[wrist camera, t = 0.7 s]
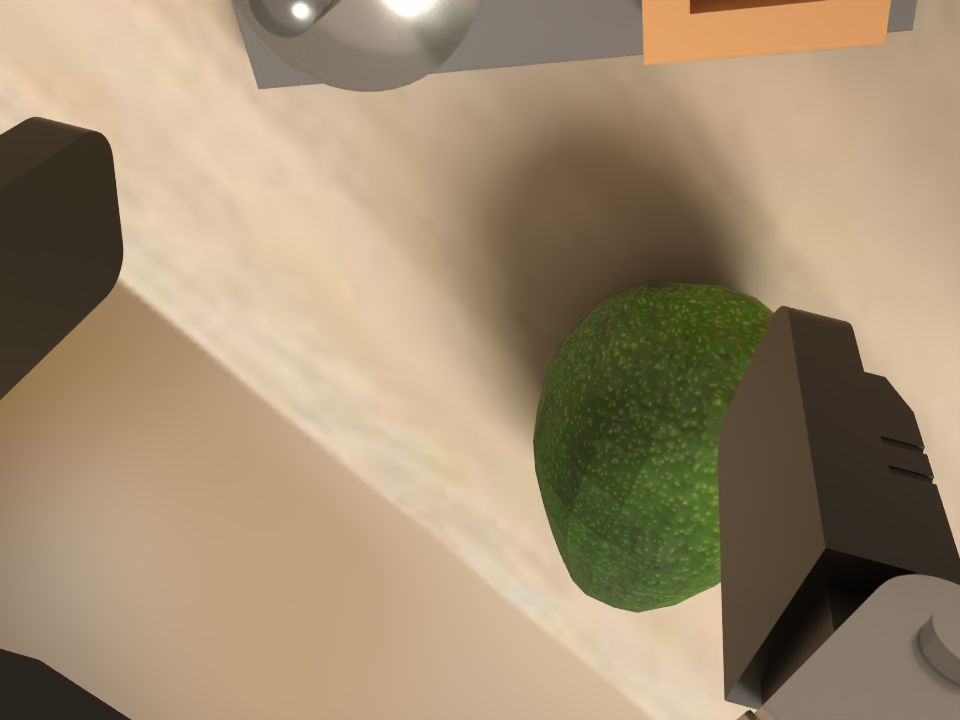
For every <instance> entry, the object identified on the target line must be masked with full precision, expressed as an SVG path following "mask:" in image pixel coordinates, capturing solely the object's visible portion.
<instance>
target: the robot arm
mask: <svg viewBox="0 0 960 720" xmlns="http://www.w3.org/2000/svg"><path fill="white" fill-rule="evenodd" d="M122 261H123V240H122V232H121V223H120V214H119V206H118V197H117V188H116V179H115V171H114V162H113V155H112V150H111V147H110V144H109V142H108V140H107V139H106V137H105V136H104V135H102V134H101V133H99V132H97V131H93V130H89V129H85V128H81V127H77V126H73V125H69V124H65V123H61V122H57V121H53V120H49V119H45V118H41V117H32V118H29V119H27V120H25V121H23V122H21V123H20V124H18V125H16V126H15V127H13V128H11V129H10V130H8V131H6V132H5V133H3V134H1V135H0V400H1V399H2V398H3V397H4V396H5V395H6V394H7V393H8V392H9V391H10V390H11V389H12V388H13V387H14V386H15V385H16V384H17V383H18V382H19V381H20V380H21V379H22V378H23V377H24V376H25V375H26V374H28V373H29V372H30V371H31V370H32V368H33V367H35V366H36V365H37V364H38V363H39V362H40V361H41V360H42V359H43V358H44V357H45V356H46V355H47V354H48V353H49V352H50V351H51V350H52V349H53V348H54V347H55V346H56V345H57V344H58V343H59V342H60V341H61V340H62V339H63V338H64V337H65V336H66V335H68V334H69V333H70V332H71V331H72V330H73V329H74V328H75V327H76V326H77V325H78V324H79V323H80V322H81V321H82V320H83V319H84V318H85V317H86V316H87V315H88V314H89V313H90V312H91V311H92V310H93V309H94V308H95V307H96V306H97V305H98V304H99V303H100V302H101V301H103V299H104V298H106V297H107V295H108V294H109V293H110V292H111V290H112V289H113V287H114V285H115V283H116V281H117V279H118V277H119V273H120V270H121V266H122ZM924 448H925V447H924V444H923V441H922V437H921V434H920V431H919V428H918V425H917V422H916V418H915V415H914V412H913V411H912V410H911V408H910V407H909V406H908V405H907V404H906V402H905V401H904V400H903V399H902V397H901V396H900V395H899V394H898V392H897V391H896V390H895V389H894V387H893V386H892V385H891V384H890V383H889V381H888V380H887V379H886V378H885V377H883V376H879V375H875V374H871V373H867V372H864V369H863V365H862V362H861V358H860V354H859V350H858V346H857V342H856V338H855V335H854V331H853V328H852V326H851V324H850V323H848V322H846V321H842V320H838V319H834V318H830V317H826V316H822V315H818V314H814V313H810V312H806V311H802V310H798V309H794V308H790V307H786V306H781V307H780V308H778V309H777V310H776V312H775V313H774V314H773V316H772V318H771V319H770V321H769V323H768V325H767V327H766V329H765V332H764V334H763V336H762V338H761V340H760V342H759V344H758V346H757V349H756V351H755V353H754V355H753V357H752V359H751V361H750V363H749V366H748V368H747V370H746V372H745V374H744V376H743V378H742V380H741V383H740V385H739V387H738V389H737V391H736V393H735V395H734V397H733V399H732V402H731V404H730V406H729V408H728V411H727V414H726V416H725V419H724V423H723V426H722V430H721V434H720V440H719V446H718V493H719V526H720V560H721V593H722V627H723V660H724V694H725V701H728V702H732V703H735V704H739V705H743V706H746V707H750V708H753V709H757V710H758V711H756V712H755V713H753V712H752V711H751V710H749V711H747V712H745V713H744V714H743V715H742V716H740V717H739V718H738V719H737V720H960V557H959V554H958V551H957V548H956V545H955V542H954V538H953V535H952V532H951V529H950V526H949V523H948V520H947V516H946V513H945V510H944V507H943V504H942V501H941V497H940V494H939V491H938V488H937V485H936V484H932V481H933V478H934V475H933V472H932V469H931V466H930V463H929V459H928V456H927V454H923V450H924ZM0 720H131V719H129V718H127V717H126V716H124V715H123V714H121V713H120V712H118V711H117V710H115V709H114V708H112V707H111V706H109V705H107V704H106V703H105V702H103V701H101V700H100V699H98V698H97V697H95V696H94V695H92V694H90V693H89V692H88V691H86V690H84V689H83V688H81V687H80V686H78V685H76V684H75V683H74V682H72V681H70V680H69V679H68V678H66V677H64V676H63V675H61V674H60V673H58V672H57V671H55V670H53V669H52V668H51V667H49V666H48V665H46V664H45V663H43V662H42V661H40V660H37V659H34V658H30V657H27V656H23V655H20V654H16V653H13V652H10V651H6V650H3V649H0Z"/></svg>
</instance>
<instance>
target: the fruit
mask: <svg viewBox="0 0 960 720" xmlns="http://www.w3.org/2000/svg"><path fill="white" fill-rule="evenodd" d="M773 314H774V312H772V311H771V310H770V309H769V308H767V307H766V306H765V305H764V304H762V303H761V302H760V301H759V300H757V299H756V298H754V297H752V296H749V295H746V294H743V293H740V292H738V291H735V290H732V289H729V288H727V287H724V286H721V285H718V284H701V283H680V282H659V281H647V282H644V283H642V284H639V285H637V286H634V287H632V288H629V289H626V290H624V291H621V292H619V293H616V294H613V295H611V296H608V297H607V298H606V299H605V300H604V301H603V302H601V303H600V304H599V305H598V306H597V307H596V308H595V309H594V310H593V311H592V312H590V313H589V314H588V315H587V316H586V317H585V318H584V319H583V320H582V321H581V322H580V323H579V324H578V325H577V326H576V327H575V328H574V329H573V331H572V332H571V333H570V334H569V335H568V336H567V337H566V338H565V339H564V341H563V343H562V345H561V347H560V349H559V350H558V352H557V354H556V356H555V358H554V360H553V361H552V363H551V365H550V367H549V369H548V372H547V375H546V379H545V383H544V387H543V391H542V394H541V398H540V402H539V406H538V410H537V417H536V424H535V431H534V438H533V445H534V458H535V471H536V475H537V480H538V484H539V488H540V492H541V496H542V500H543V504H544V507H545V511H546V514H547V517H548V521H549V524H550V527H551V531H552V533H553V536H554V539H555V541H556V544H557V547H558V549H559V552H560V555H561V557H562V559H563V561H564V563H565V565H566V567H567V570H568V572H569V574H570V576H571V578H572V580H573V581H574V582H575V584H576V585H577V586H578V587H579V588H580V589H581V590H582V591H583V592H584V593H585V594H586V595H588V596H590V597H592V598H594V599H597V600H599V601H601V602H603V603H605V604H607V605H610V606H612V607H614V608H619V609H623V610H628V611H633V612H637V613H638V612H643V611H648V610H653V609H658V608H662V607H667V606H672V605H676V604H678V603H680V602H682V601H684V600H686V599H688V598H690V597H692V596H694V595H696V594H698V593H701V592H703V591H705V590H707V589H709V588H711V587H714V586H715V585H717V584H718V583H720V582H721V560H720V526H719V493H718V446H719V440H720V434H721V430H722V426H723V423H724V419H725V416H726V414H727V411H728V408H729V406H730V404H731V402H732V399H733V397H734V395H735V393H736V391H737V389H738V387H739V385H740V383H741V380H742V378H743V376H744V374H745V372H746V370H747V368H748V366H749V363H750V361H751V359H752V357H753V355H754V353H755V351H756V349H757V346H758V344H759V342H760V340H761V338H762V336H763V334H764V332H765V329H766V327H767V325H768V323H769V321H770V319H771V318H772V316H773Z"/></svg>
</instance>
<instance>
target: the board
mask: <svg viewBox="0 0 960 720" xmlns="http://www.w3.org/2000/svg"><path fill="white" fill-rule="evenodd" d="M916 2H917V0H891V3H890V11H889V19H888V27H887V33H888V32H899V31H910V30H912V29H913V22H914V15H915V8H916ZM232 3H233V7H234V10H235V13H236V16H237V20H238V23H239V26H240V30H241V33H242V36H243V39H244V43H245V46H246V49H247V53H248V56H249V59H250V62H251V66H252V69H253V72H254V76H255V79H256V82H257V86H258V89H267V88H278V87H289V86H300V85H311V84H322V83H321V82H319V81H316V80H314V79H312V78H310V77H308V76H306V75H304V74H302V73H301V72H299V71H297V70H296V69H294V68H293V67H291V66H290V65H288V64H287V63H286V62H284V61H283V60H282V59H281V58H279V57H278V56H277V55H276V54H275V53H274V52H272V51H271V50H270V49H269V48H268V47H267V46H266V44H265V43H264V42H263V41H262V40H261V39H260V38H259V37H258V36H257V35H256V33H255V32H254V31H253V29H252V28H251V27H250V25H249V24H248V23H247V22H246V20H245V18H244V17H243V15H242V13H241V12H240V10H239V9H238V7H237V5H236V3H235V1H234V0H232ZM633 55H644V48H643V18H642V0H482V2H481V5H480V9H479V11H478V13H477V15H476V18H475V20H474V22H473V24H472V26H471V28H470V29H469V31H468V33H467V34H466V36H465V37H464V39H463V41H462V42H461V44H460V45H459V46H458V47H457V49H456V50H455V51H454V52H453V53H452V55H451V56H450V57H449V58H448V59H447V60H446V61H445V62H444V63H442V64H441V65H440V66H439V67H438V68H437V69H435V70H434V71H432V72H431V73H429V74H433V73H444V72H455V71H466V70H477V69H488V68H500V67H511V66H522V65H533V64H544V63H555V62H566V61H577V60H588V59H599V58H611V57H622V56H633Z"/></svg>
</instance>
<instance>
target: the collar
mask: <svg viewBox="0 0 960 720" xmlns="http://www.w3.org/2000/svg"><path fill="white" fill-rule="evenodd" d="M890 3H891V0H642V18H643V48H644V65H649V64H660V63H672V62H683V61H694V60H706V59H717V58H729V57H740V56H752V55H763V54H775V53H786V52H798V51H809V50H821V49H832V48H843V47H855V46H866V45H878V44H885V42H886V34H887V27H888V19H889V11H890Z"/></svg>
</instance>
